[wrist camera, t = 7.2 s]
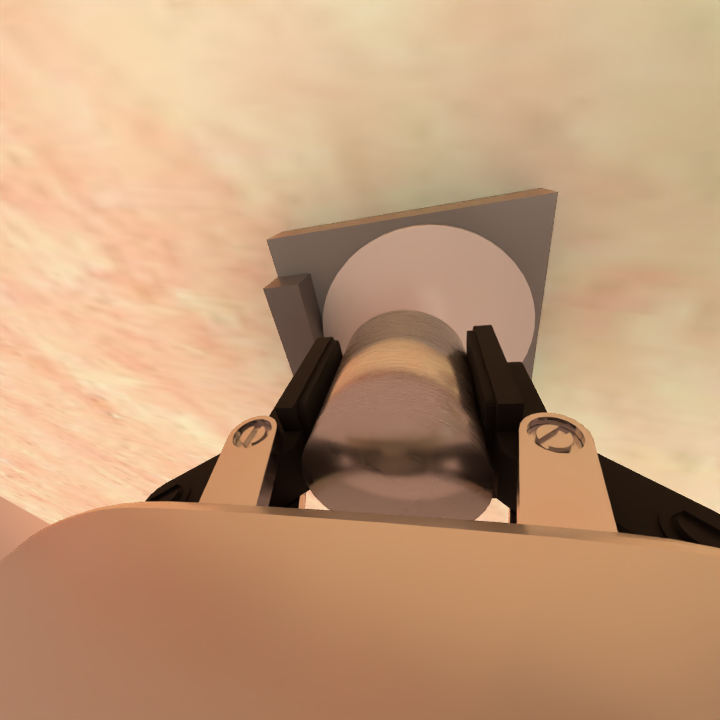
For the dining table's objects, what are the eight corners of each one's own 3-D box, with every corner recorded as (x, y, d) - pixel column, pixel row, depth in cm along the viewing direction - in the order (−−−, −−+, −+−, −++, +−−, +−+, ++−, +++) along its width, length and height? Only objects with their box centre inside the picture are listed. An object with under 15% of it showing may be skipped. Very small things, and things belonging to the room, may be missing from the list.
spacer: (334, 316, 11) (277, 413, 6) (467, 303, 10) (500, 410, 5) (357, 411, 13) (325, 529, 9) (466, 410, 12) (489, 543, 8)
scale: (280, 232, 22) (246, 248, 18) (541, 188, 18) (576, 196, 14) (327, 392, 30) (310, 431, 26) (518, 387, 26) (536, 433, 22)
